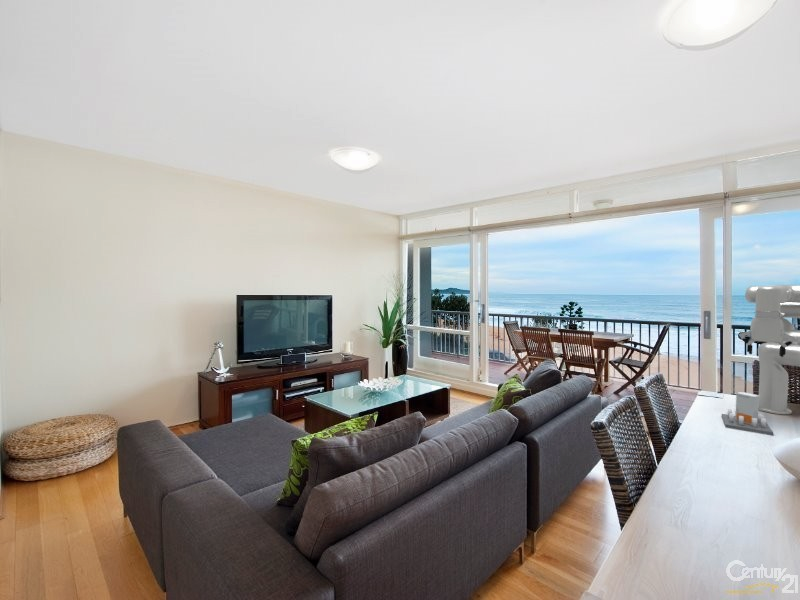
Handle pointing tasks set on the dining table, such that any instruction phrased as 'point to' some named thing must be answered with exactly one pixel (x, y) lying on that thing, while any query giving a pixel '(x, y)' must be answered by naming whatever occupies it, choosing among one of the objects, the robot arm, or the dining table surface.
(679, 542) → the dining table surface
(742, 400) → the skincare box
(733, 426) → the peg board
